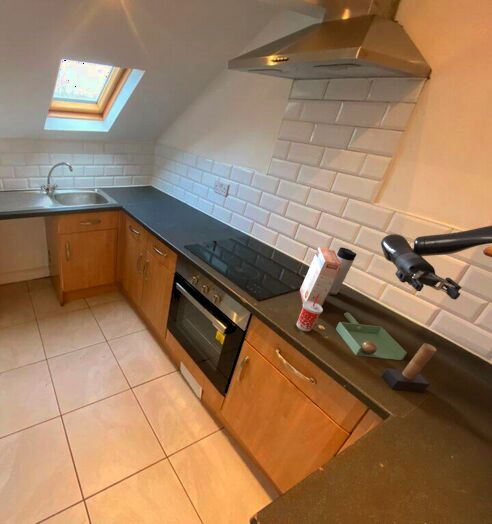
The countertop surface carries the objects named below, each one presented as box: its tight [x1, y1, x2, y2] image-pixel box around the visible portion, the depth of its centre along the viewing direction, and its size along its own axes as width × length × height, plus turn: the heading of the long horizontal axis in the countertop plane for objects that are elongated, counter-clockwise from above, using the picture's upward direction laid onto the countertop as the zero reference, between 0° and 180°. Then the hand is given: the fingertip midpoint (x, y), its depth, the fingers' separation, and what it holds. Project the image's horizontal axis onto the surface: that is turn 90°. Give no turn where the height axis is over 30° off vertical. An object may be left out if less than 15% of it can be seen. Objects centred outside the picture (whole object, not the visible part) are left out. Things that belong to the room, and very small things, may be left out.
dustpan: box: [335, 312, 408, 361], centre depth 103 cm, size 20×15×3 cm
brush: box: [381, 342, 437, 393], centre depth 83 cm, size 9×4×14 cm, turn 88°
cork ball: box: [361, 341, 377, 354], centre depth 95 cm, size 4×4×4 cm
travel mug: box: [327, 246, 357, 296], centre depth 124 cm, size 6×7×20 cm
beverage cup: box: [296, 294, 324, 332], centre depth 102 cm, size 6×6×14 cm
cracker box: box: [299, 246, 342, 307], centre depth 115 cm, size 14×6×21 cm, turn 160°
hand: (438, 292), depth 84 cm, fingers open, 8 cm apart
